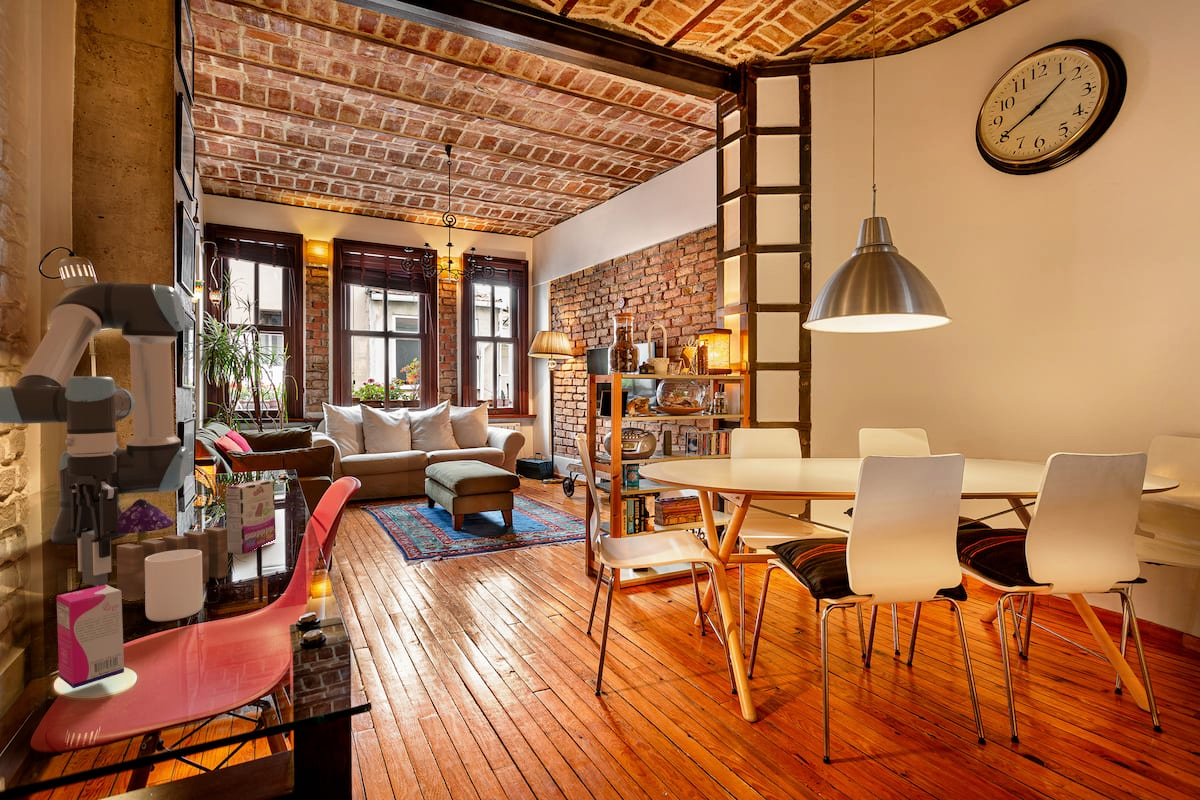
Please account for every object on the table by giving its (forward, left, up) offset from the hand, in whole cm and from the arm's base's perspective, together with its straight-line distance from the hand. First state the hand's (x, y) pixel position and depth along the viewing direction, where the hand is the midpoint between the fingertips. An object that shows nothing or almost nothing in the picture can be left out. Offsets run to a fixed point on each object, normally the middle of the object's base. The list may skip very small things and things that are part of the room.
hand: (94, 571), depth 122 cm
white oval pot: (+28, 0, -4) cm, 28 cm away
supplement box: (+44, -20, -4) cm, 49 cm away
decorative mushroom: (-11, +14, -4) cm, 18 cm away
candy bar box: (-2, +34, -4) cm, 34 cm away
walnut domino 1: (+13, 0, -4) cm, 14 cm away
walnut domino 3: (+13, +8, -4) cm, 16 cm away
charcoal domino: (0, 0, -2) cm, 2 cm away
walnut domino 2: (+13, +4, -4) cm, 14 cm away
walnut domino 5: (+13, +16, -4) cm, 21 cm away
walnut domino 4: (+13, +12, -4) cm, 18 cm away
